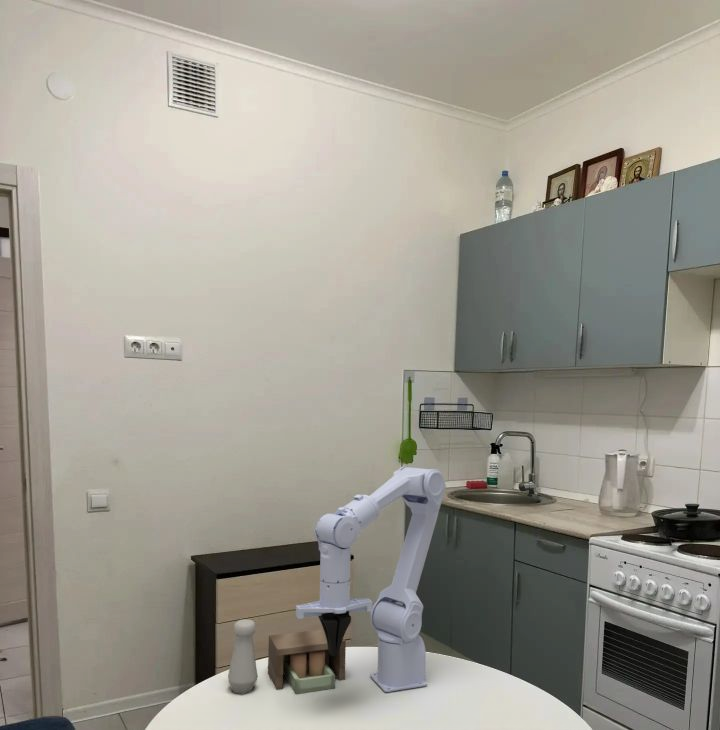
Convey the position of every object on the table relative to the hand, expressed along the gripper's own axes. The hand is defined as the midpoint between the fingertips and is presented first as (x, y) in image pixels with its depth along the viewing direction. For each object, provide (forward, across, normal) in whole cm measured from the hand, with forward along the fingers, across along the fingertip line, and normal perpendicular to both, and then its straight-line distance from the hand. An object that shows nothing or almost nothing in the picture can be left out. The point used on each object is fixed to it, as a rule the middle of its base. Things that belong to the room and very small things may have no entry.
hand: (333, 653), depth 113 cm
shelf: (+10, -1, +15) cm, 18 cm away
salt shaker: (+10, -14, +13) cm, 22 cm away
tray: (+10, -1, +12) cm, 16 cm away
